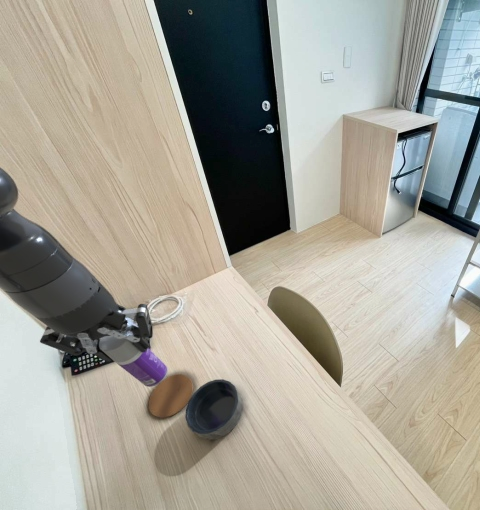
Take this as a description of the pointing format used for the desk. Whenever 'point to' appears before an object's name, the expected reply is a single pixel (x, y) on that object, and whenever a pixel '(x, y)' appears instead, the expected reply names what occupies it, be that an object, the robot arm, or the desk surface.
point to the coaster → (170, 396)
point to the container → (135, 360)
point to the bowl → (214, 409)
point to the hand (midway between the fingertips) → (129, 351)
